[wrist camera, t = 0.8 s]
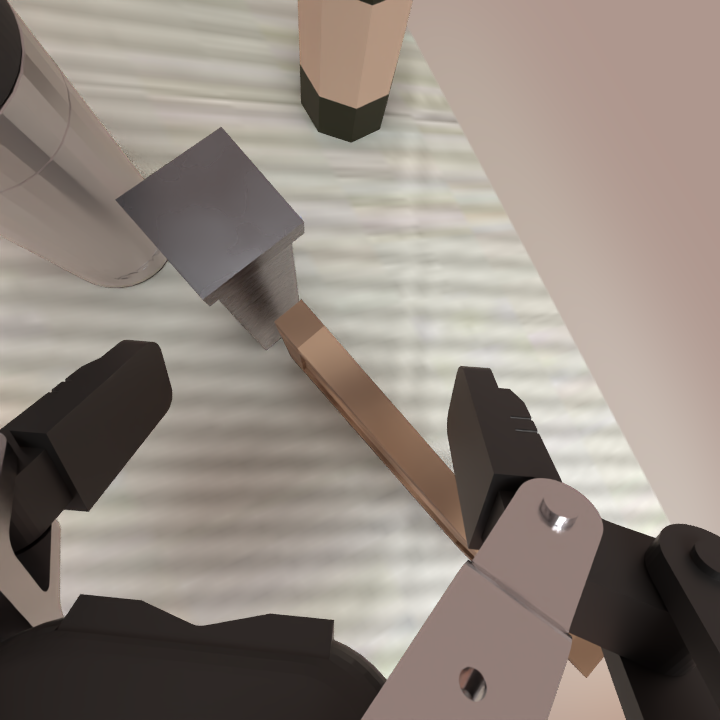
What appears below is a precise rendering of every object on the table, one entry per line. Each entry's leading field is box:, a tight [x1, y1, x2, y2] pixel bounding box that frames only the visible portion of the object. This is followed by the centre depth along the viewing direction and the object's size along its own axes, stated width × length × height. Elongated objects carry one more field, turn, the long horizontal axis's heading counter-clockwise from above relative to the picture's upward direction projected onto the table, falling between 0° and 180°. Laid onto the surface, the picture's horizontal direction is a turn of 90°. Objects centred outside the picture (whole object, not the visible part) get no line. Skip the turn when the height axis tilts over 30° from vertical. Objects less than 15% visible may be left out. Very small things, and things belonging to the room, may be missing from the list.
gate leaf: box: [274, 299, 604, 678], centre depth 24 cm, size 22×2×15 cm, turn 42°
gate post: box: [115, 127, 304, 350], centre depth 23 cm, size 5×5×19 cm
